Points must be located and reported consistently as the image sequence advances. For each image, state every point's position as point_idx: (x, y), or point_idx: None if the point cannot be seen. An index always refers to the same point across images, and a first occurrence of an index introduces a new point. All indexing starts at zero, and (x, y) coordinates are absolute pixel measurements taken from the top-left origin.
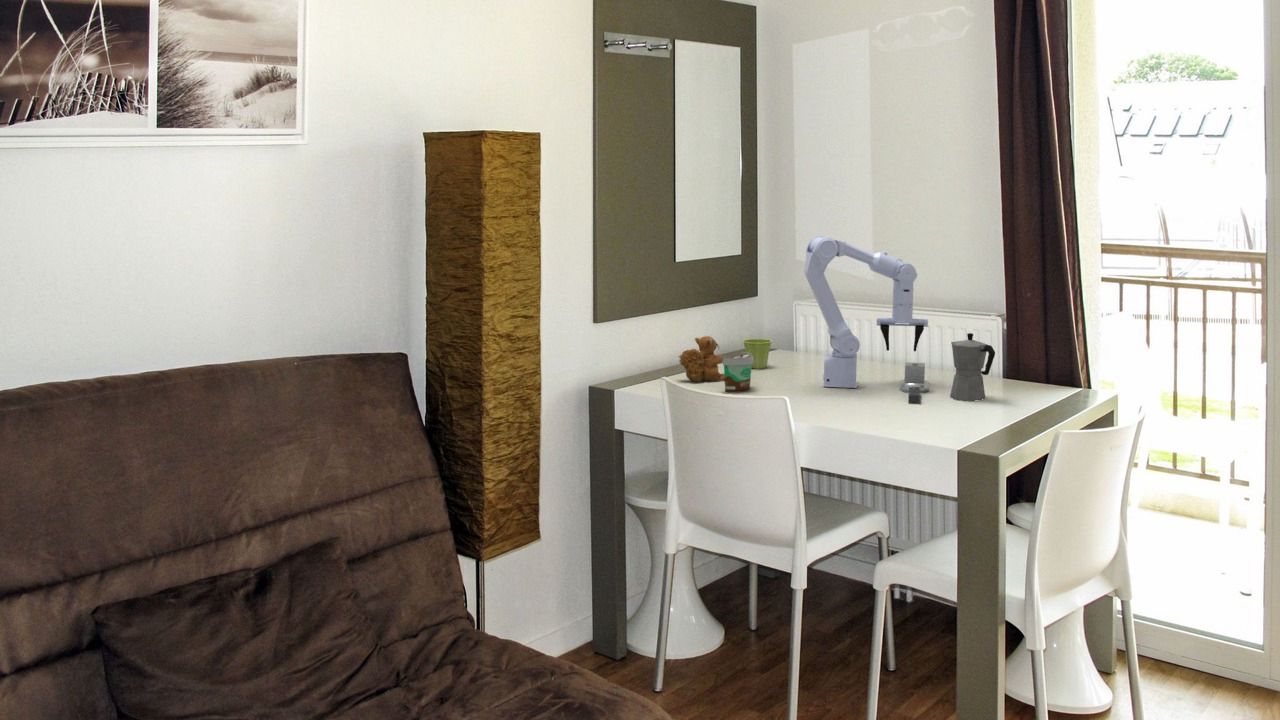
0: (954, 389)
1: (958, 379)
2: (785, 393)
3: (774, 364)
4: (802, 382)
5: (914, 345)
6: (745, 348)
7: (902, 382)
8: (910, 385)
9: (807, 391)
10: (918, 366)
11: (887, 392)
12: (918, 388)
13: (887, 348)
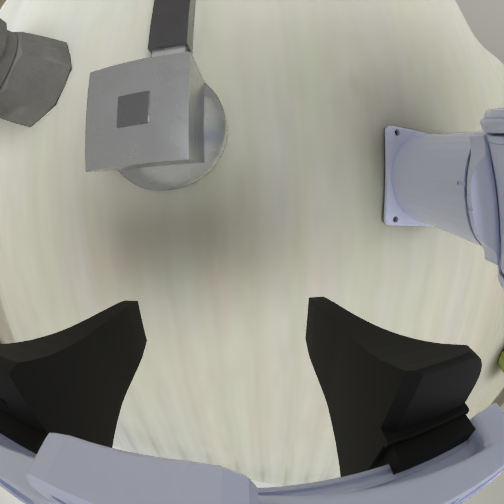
0: (51, 47)
1: (27, 33)
2: (498, 77)
3: (479, 386)
4: None
5: (114, 312)
6: None
7: (213, 94)
8: None
9: (477, 92)
10: (119, 64)
11: (272, 71)
12: (153, 26)
13: (323, 300)
